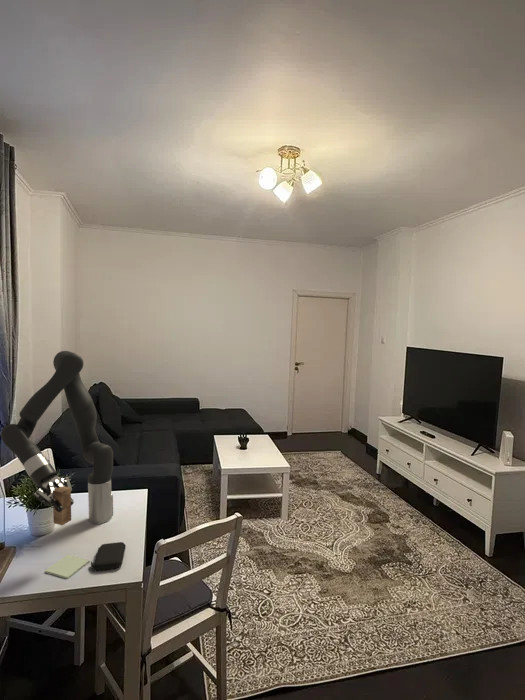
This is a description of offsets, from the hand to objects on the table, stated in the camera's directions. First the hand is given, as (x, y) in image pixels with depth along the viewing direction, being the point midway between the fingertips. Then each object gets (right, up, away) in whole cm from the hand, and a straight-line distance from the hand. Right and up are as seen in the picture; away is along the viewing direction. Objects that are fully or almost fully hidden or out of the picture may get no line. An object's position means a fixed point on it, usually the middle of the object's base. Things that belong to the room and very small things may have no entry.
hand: (66, 507), depth 141 cm
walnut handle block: (-2, -5, +1) cm, 6 cm away
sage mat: (+1, -20, -1) cm, 20 cm away
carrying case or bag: (+14, -21, +3) cm, 25 cm away
